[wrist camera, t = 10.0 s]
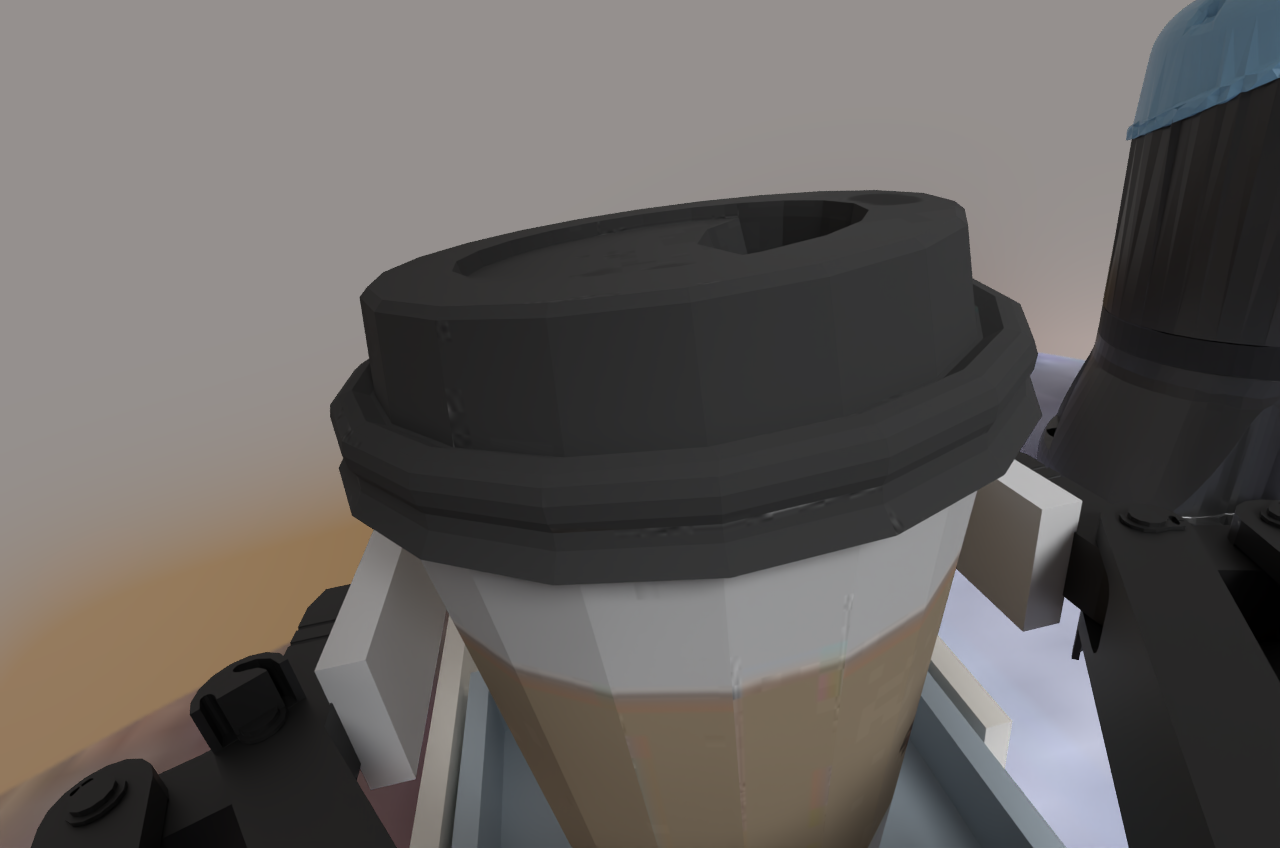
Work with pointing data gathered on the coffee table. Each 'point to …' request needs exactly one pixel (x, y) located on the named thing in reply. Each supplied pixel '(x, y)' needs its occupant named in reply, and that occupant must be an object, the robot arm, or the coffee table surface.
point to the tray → (916, 824)
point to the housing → (457, 665)
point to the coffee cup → (696, 494)
